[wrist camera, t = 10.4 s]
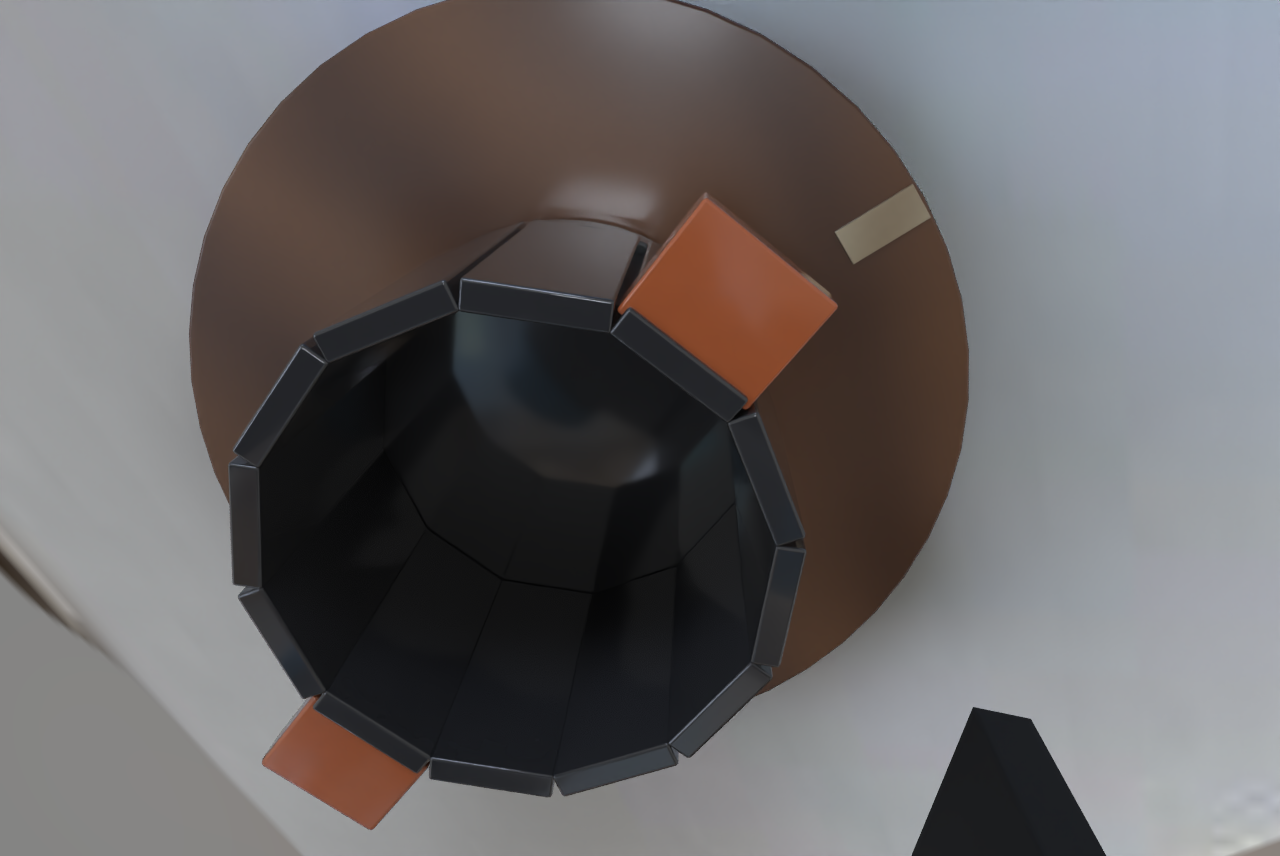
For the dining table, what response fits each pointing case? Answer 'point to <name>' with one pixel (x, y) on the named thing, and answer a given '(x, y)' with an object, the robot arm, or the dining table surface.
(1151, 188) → the dining table surface
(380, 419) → the cooking pot
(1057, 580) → the dining table surface
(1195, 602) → the dining table surface
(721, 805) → the dining table surface
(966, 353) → the turntable
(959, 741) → the robot arm
